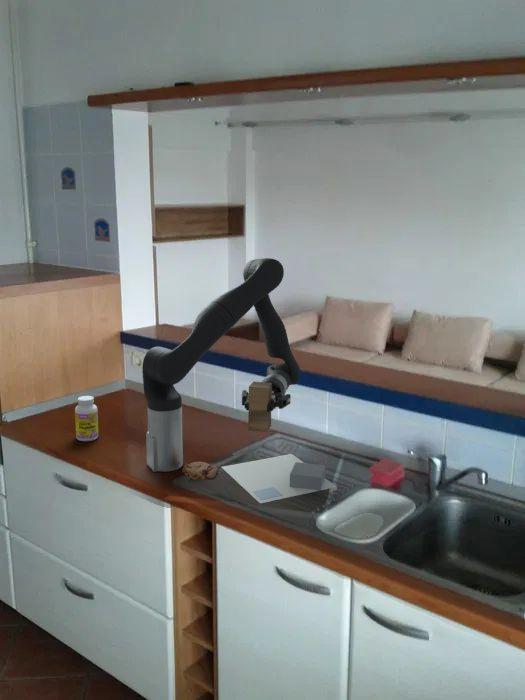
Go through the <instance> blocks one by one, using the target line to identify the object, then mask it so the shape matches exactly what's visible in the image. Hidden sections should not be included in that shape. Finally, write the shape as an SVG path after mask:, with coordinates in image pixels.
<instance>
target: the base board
mask: <svg viewBox="0 0 525 700" xmlns="http://www.w3.org/2000/svg"><path fill="white" fill-rule="evenodd" d="M221 468H222V470H223V471H225V473H227V474H228V475H229V476H230V477H231V478H232V479H233V480H234V481H236V483H237V484H238V485H240V486H241V487H242V489H244V490H245V491H246V492H247V493H249V494H250V496H251V497H253V498H254V499H255V500H256V501H257V502H258V503H259V504H265V503H268V502H273V501H278V500H282V499H283V500H284V499H288V498H292V497H295V496H296V497H297V496H301V495H306V494H310V493H314V492H320V491H324V490H328V489H329V491H328V492H329V493H331V492H335V491H337V490H338V485H336V484H334V483H333V482H332V481H330V480H328V479H327V478H326V468H327V467H326V465H325V464H318V463H316V464H315V463H307V462H304V461H302V460H301V459H299V458H298V457H297V456H295V455H294V454H293V453H289V454H283V455H279V456H273V457H269V458H261V459H257V460H253V461H251V460H250V461H246V462H241V463H236V464H230V465H224V466H221ZM259 507H260V508H264V506H263V505H259Z"/></svg>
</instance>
